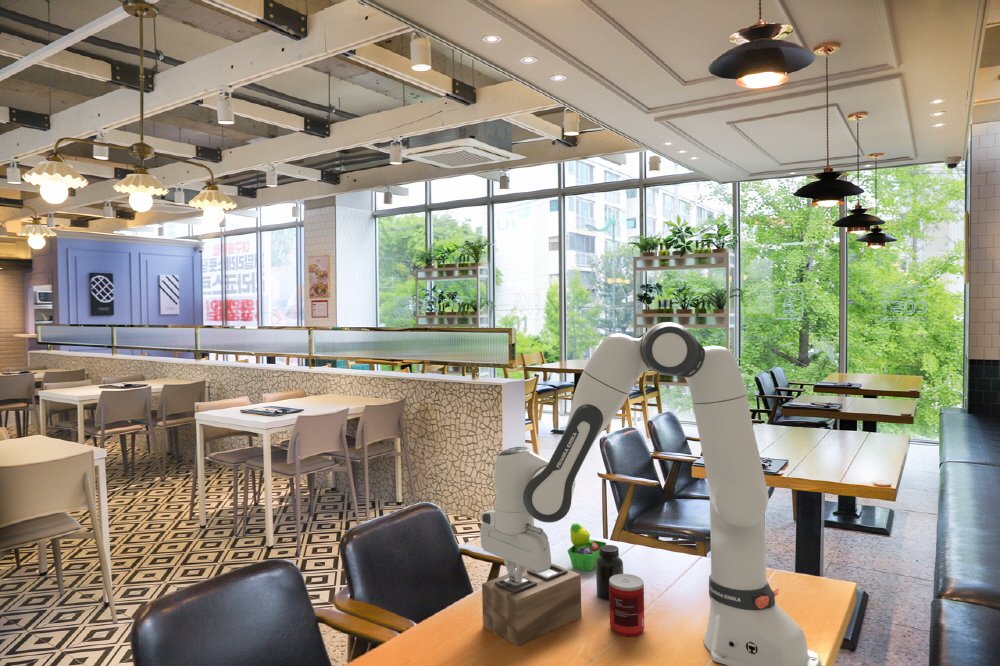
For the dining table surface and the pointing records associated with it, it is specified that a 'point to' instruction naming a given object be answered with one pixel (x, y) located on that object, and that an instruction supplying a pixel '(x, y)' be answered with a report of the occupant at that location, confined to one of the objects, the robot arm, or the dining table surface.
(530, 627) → the socket block
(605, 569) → the supplement bottle
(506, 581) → the peg
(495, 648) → the dining table surface
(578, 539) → the fruit basket
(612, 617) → the canned food
